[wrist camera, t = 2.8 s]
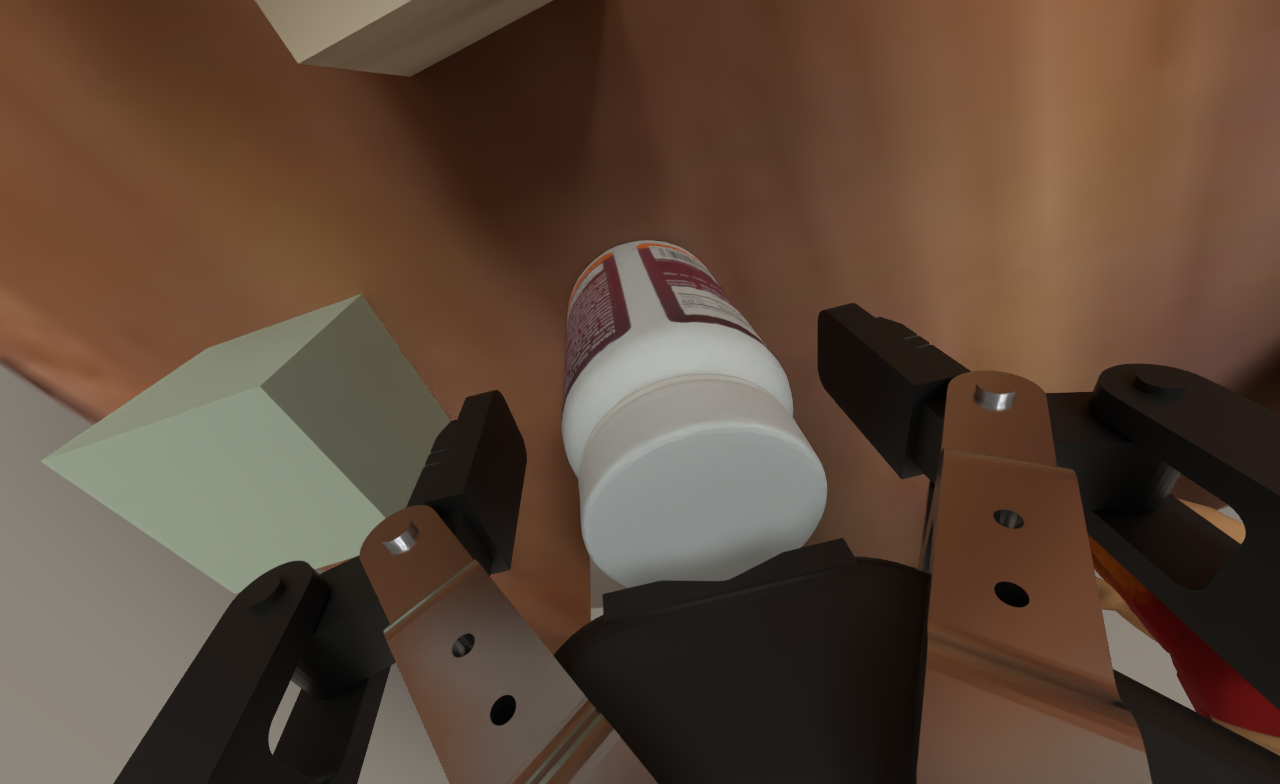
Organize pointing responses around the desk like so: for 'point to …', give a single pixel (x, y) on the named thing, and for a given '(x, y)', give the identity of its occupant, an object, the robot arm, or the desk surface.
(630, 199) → the desk surface
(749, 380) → the pill bottle
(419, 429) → the sage block
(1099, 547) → the action figure
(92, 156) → the desk surface
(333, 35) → the birch block
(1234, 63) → the desk surface
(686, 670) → the robot arm
